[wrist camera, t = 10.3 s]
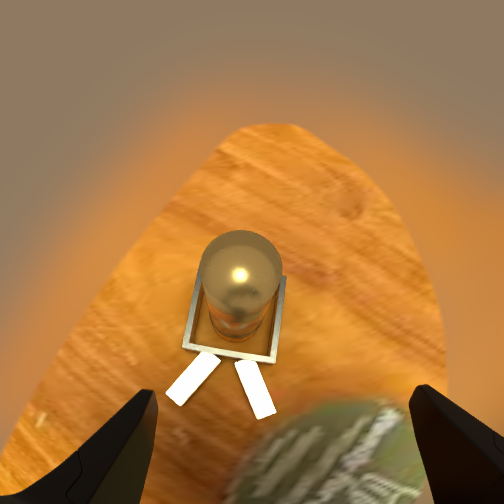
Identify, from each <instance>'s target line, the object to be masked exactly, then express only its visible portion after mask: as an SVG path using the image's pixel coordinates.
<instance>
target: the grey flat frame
mask: <svg viewBox="0 0 504 504" xmlns="http://www.w3.org/2000/svg"><path fill="white" fill-rule="evenodd" d="M285 285H286V276H283V275H282V277H281V281H280V283H279V285H278V288H277V290H276V296H275V304H274V311H273V318H272V326H271V333H270V340H269V347H268V353H267V356H261V355H254V354H248V353H241V352H235V351H229V350H223V349H218V348H212V347H207V346H202V345H196V344H193V341H194V336H195V331H196V326H197V321H198V316H199V311H200V306H201V301H202V296H203V292H204V287H203V283H202V279H201V274H200V265H199V269H198V274H197V278H196V283H195V287H194V292H193V296H192V301H191V306H190V310H189V315H188V320H187V325H186V330H185V335H184V340H183V345H182V348H183V349H185V350H186V351H190V352H195V353H200V355H199V356H198V357H197V358H196V359H195V360H194V361H193V362H192V364H191V365H190V366H189V367H188V368H187V369H186V370H185V372H184V373H183V374H182V375H181V376H180V377H179V378H178V379H177V381H176V382H175V383H174V384H173V385H172V386H171V387H170V388H169V390H168V391H167V392H166V394H167V395H168V396H169V397H170V398H171V399H172V400H174V401H175V402H176V403H177V404H178V405H179V406H182V405H184V404H185V403H186V402H187V400H188V399H189V398H190V397H191V396H192V395H193V394H194V393H195V391H196V390H197V389H198V388H199V387H200V386H201V385H202V384H203V382H204V381H205V380H206V379H207V378H208V377H209V376H210V374H211V373H212V372H213V371H214V370H215V369H216V367H217V366H218V365H219V364H220V363H221V361H220V360H219V359H218V358H217V357H221V358H227V359H233V360H239V362H236V363H234V365H235V367H236V370H237V372H238V375H239V377H240V380H241V382H242V385H243V387H244V390H245V392H246V395H247V397H248V400H249V402H250V404H251V407H252V409H253V412H254V414H255V416H256V418H257V420H258V419H261V418H264V417H266V416H269V415H271V414H274V413H276V410H275V408H274V405H273V403H272V401H271V398H270V396H269V393H268V391H267V389H266V386H265V384H264V381H263V379H262V376H261V374H260V372H259V369H258V367H257V364H256V363H258V364H265V365H273V364H275V361H276V353H277V346H278V339H279V332H280V324H281V317H282V309H283V301H284V293H285ZM215 356H216V357H215Z"/></svg>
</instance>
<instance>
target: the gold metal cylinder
mask: <svg viewBox="0 0 504 504" xmlns="http://www.w3.org/2000/svg"><path fill="white" fill-rule="evenodd" d="M200 274H201V279H202V283H203V287H204V291H205V295H206V300H207V304H208V308H209V314H210V319H211V322H212V324H213V327H214V329H215V331H216V332H217V334H218V335H219V336H220V337H222V338H223V339H225V340H227V341H231V342H241V341H245V340H247V339H249V338H250V337H251V336H252V335H253V334H254V333H255V332H256V330H257V329H258V327H259V326H260V324H261V322H262V319H263V316H264V314H265V312H266V310H267V308H268V306H269V304H270V302H271V300H272V298H273V296H274V294H275V292H276V290H277V288H278V285H279V283H280V281H281V277H282V262H281V258H280V255H279V253H278V251H277V250H276V248H275V247H274V246H273V244H272V243H271V242H270V241H269V240H267V239H266V238H265V237H263V236H261V235H259V234H257V233H254V232H251V231H244V230H236V231H230V232H227V233H224V234H222V235H220V236H218V237H217V238H215V239H214V240H213V241H212V242H211V243H210V244H209V245H208V246H207V248H206V249H205V251H204V253H203V255H202V258H201V262H200Z"/></svg>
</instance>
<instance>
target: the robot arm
mask: <svg viewBox="0 0 504 504" xmlns="http://www.w3.org/2000/svg"><path fill="white" fill-rule="evenodd" d="M409 410H410V414H411V419H412V423H413V428H414V433H415V438H416V442H417V445H418V448H419V451H420V455H421V458H422V461H423V465H424V468H425V471H426V475H427V478H428V482H429V485H430V489H431V492H432V496H433V500H434V504H504V437H502V436H501V435H499V434H498V433H497V432H495V431H493V430H492V429H491V428H489V427H488V426H486V425H485V424H484V423H482V422H481V421H479V420H477V419H476V418H475V417H474V416H472V415H471V414H469V413H468V412H466V411H465V410H464V409H462V408H461V407H459V406H458V405H456V404H455V403H453V402H452V401H451V400H449V399H448V398H446V397H445V396H444V395H442V394H441V393H439V392H438V391H436V390H435V389H434V388H432V387H431V386H429V385H427V384H424V385H418V386H417V387H416V388H415V390H414V392H413V394H412V396H411V398H410V400H409ZM157 416H158V404H157V400H156V395H155V392H154V391H153V390H149V389H141V390H140V391H139V392H138V393H137V394H136V395H135V396H134V397H133V398H132V399H130V400H129V401H128V402H127V403H126V404H125V405H124V406H123V407H122V408H121V409H120V410H119V411H118V412H117V413H116V414H115V415H114V416H113V417H111V418H110V419H109V420H108V421H107V422H106V423H105V424H104V425H103V426H102V427H101V428H100V429H99V430H98V431H97V432H95V433H94V434H93V435H92V436H91V437H90V438H89V439H88V440H87V441H86V442H85V443H84V444H83V445H82V446H80V447H79V448H78V451H75V452H74V453H73V454H72V455H71V456H69V457H68V458H67V459H66V460H65V461H64V462H63V463H61V464H60V465H59V466H58V467H56V468H55V469H54V470H52V471H51V472H50V473H48V474H47V475H45V476H44V477H42V478H41V479H39V480H38V481H36V482H35V483H34V484H32V485H31V486H29V487H28V488H26V489H24V490H23V491H21V492H19V493H16V494H12V495H4V496H0V504H139V503H140V499H141V495H142V491H143V487H144V483H145V479H146V475H147V471H148V467H149V464H150V460H151V456H152V452H153V446H154V438H155V430H156V423H157Z"/></svg>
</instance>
